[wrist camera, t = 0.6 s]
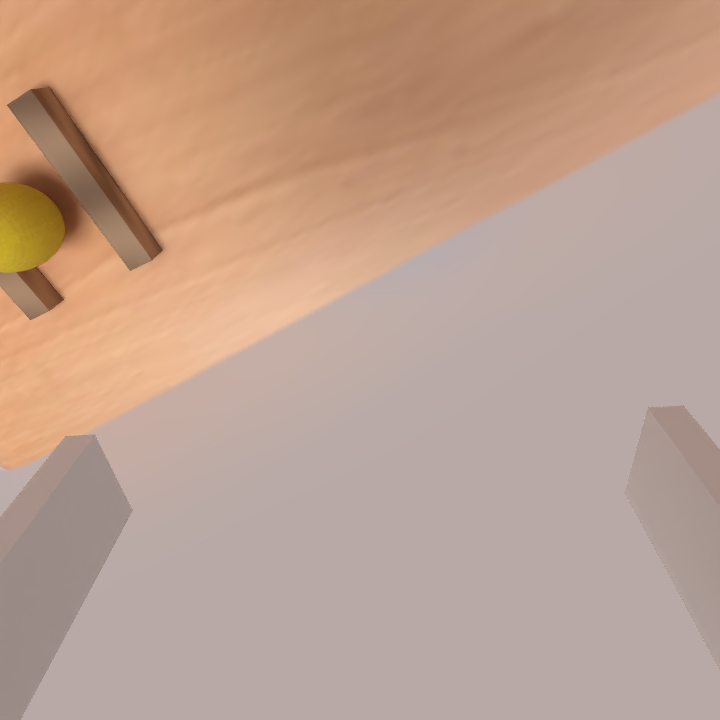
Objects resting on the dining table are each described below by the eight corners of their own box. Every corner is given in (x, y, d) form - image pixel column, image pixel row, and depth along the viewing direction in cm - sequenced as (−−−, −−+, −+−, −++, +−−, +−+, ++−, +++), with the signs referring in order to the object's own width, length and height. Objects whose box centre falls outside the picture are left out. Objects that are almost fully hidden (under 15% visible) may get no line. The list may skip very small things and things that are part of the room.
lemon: (13, 156, 35) (-78, 182, 28) (93, 196, 36) (24, 231, 29) (2, 225, 37) (-83, 264, 30) (77, 260, 38) (11, 305, 32)
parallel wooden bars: (-77, 169, 35) (-100, 175, 34) (49, 87, 32) (30, 89, 30) (45, 308, 41) (30, 320, 39) (162, 250, 38) (152, 260, 36)
